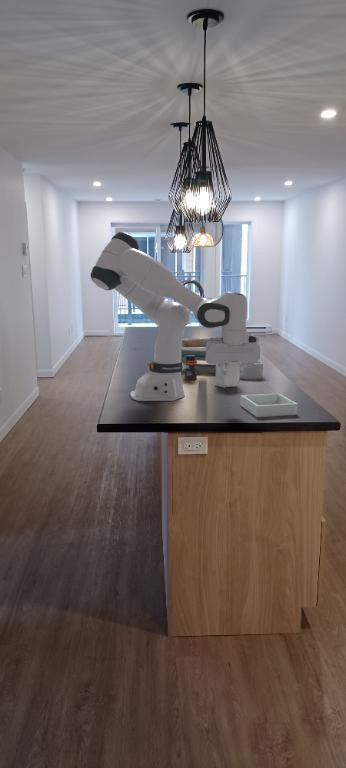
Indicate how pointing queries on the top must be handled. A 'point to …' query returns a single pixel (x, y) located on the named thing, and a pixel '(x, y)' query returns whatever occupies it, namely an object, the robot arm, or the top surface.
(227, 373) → the white cup
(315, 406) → the top surface
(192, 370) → the supplement bottle
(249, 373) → the lumpy-topped squat cylinder
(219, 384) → the skincare box
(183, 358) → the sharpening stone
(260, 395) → the sage tray
